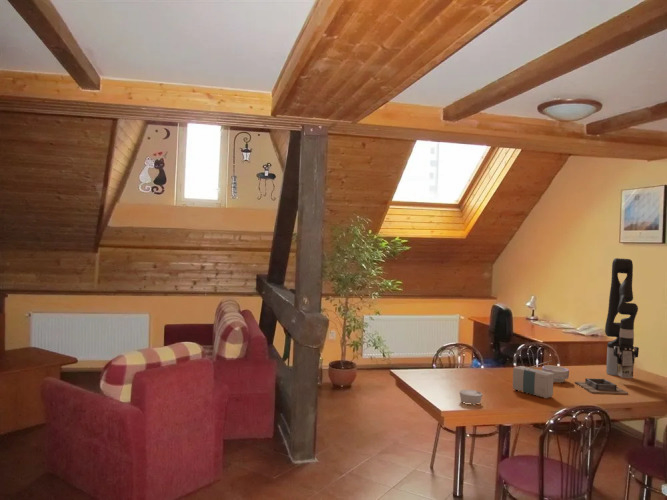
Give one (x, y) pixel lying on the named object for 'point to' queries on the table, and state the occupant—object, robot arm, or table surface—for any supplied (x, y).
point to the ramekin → (470, 396)
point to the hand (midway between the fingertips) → (625, 364)
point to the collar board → (600, 386)
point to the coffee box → (626, 364)
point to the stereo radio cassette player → (533, 381)
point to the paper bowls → (557, 372)
